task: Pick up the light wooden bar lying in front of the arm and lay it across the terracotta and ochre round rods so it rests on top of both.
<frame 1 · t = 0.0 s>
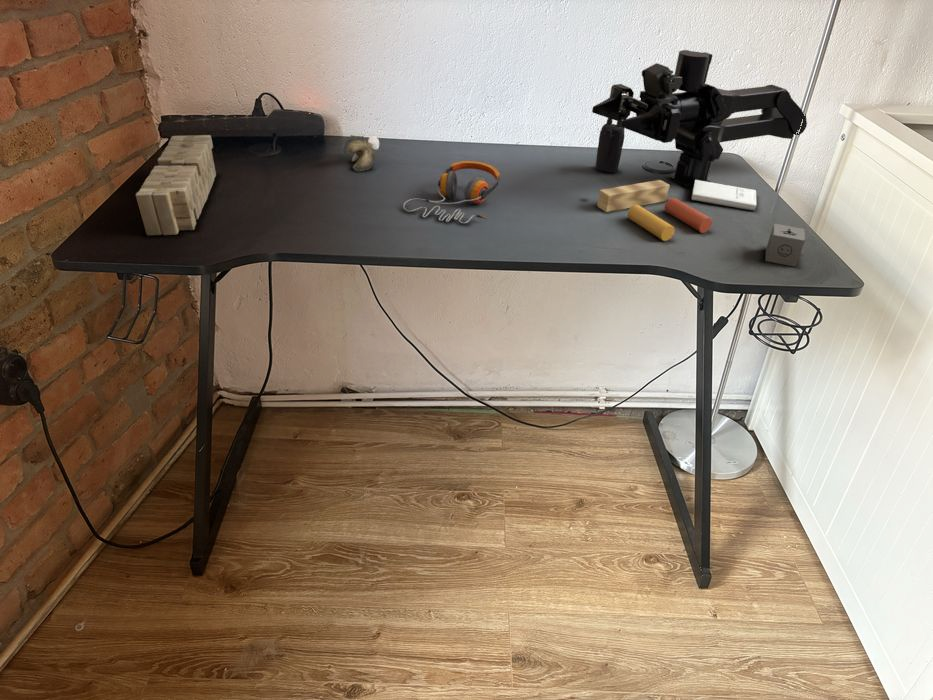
hand: (606, 116, 130), 17 cm above the table, tool horizontal, fingers open, 9 cm apart
terracotta rod: (685, 222, 132), on the table
two-way radio: (605, 171, 152), on the table
light wooden bar: (632, 203, 138), on the table
headphones: (459, 203, 135), on the table
ochre rod: (648, 229, 128), on the table
dice cube: (780, 258, 121), on the table
hard drive: (722, 199, 142), on the table, touching arm
block tower: (185, 202, 131), on the table
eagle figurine: (361, 164, 151), on the table
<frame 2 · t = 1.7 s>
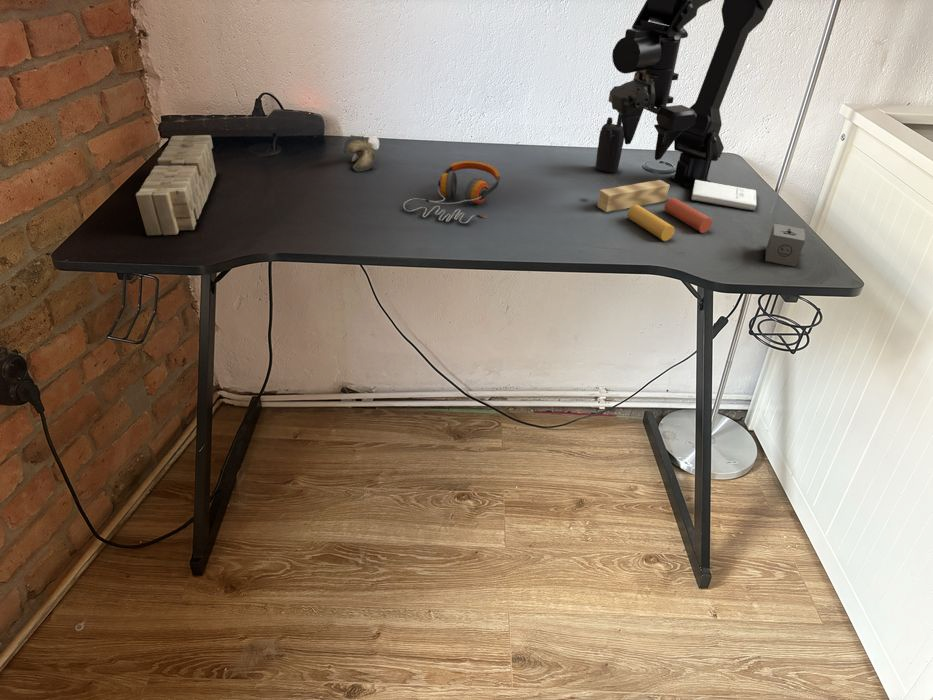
hand: (642, 151, 132), 11 cm above the table, tool pointing down, fingers open, 9 cm apart
nothing on the table moved.
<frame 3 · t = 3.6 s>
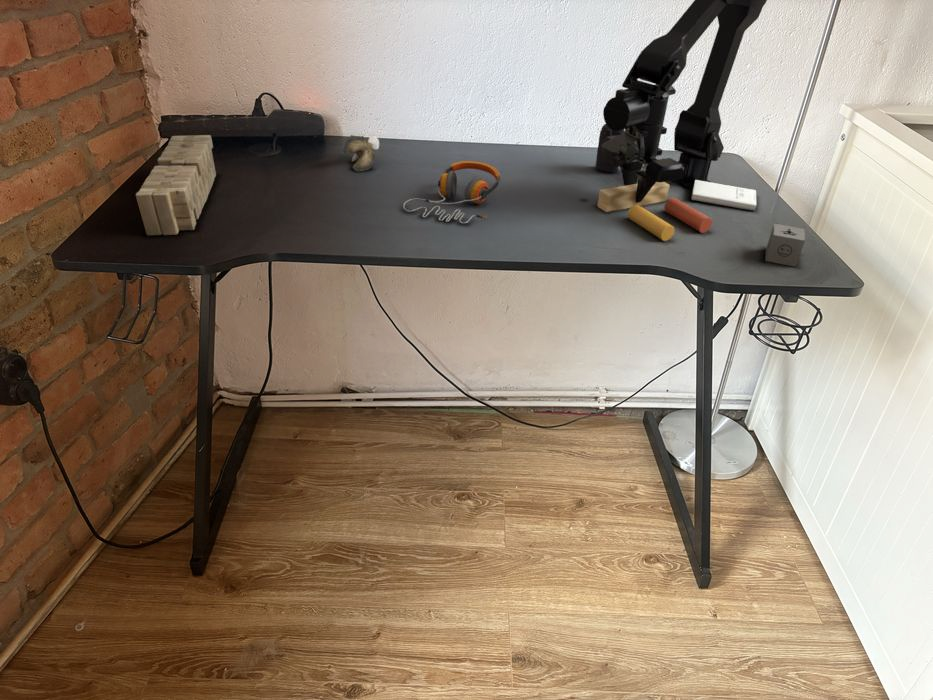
hand: (633, 199, 137), 1 cm above the table, tool pointing down, fingers closed on light wooden bar, 3 cm apart
light wooden bar: (632, 203, 138), on the table, touching gripper
everything else where it was.
when the fingers open (4 cm above the table, at t = 7.8 s): light wooden bar stays where it is, resting on ochre rod, terracotta rod.
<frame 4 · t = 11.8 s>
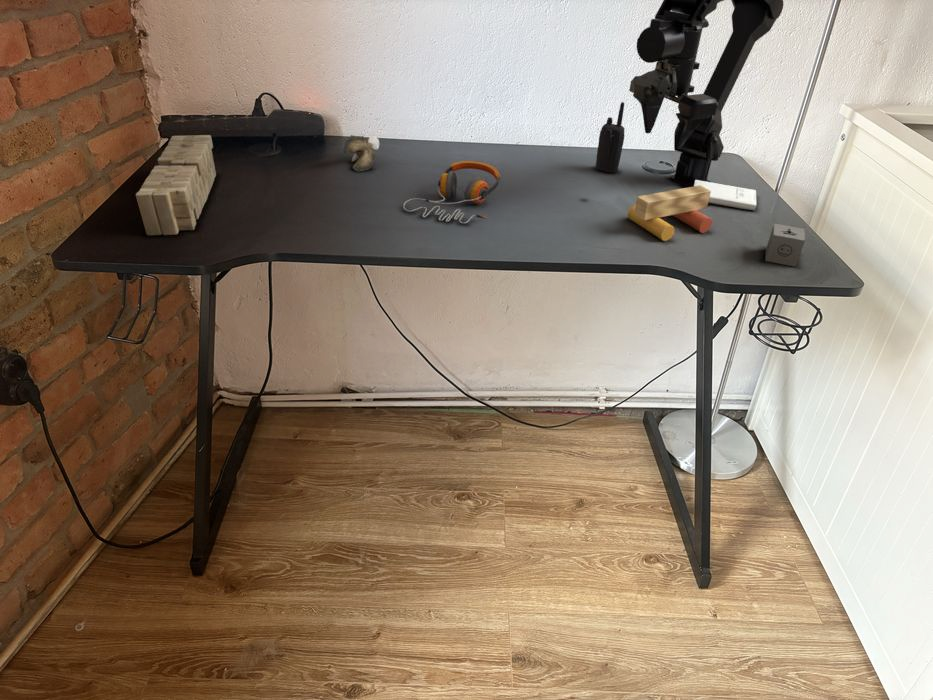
hand: (662, 140, 134), 12 cm above the table, tool pointing down, fingers open, 9 cm apart
light wooden bar: (670, 211, 128), point 3 cm above the table, touching ochre rod, terracotta rod
everything else where it was.
at the end: light wooden bar 0.0 cm from the target spot, point 3.0 cm above the table; light wooden bar touching ochre rod, terracotta rod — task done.
